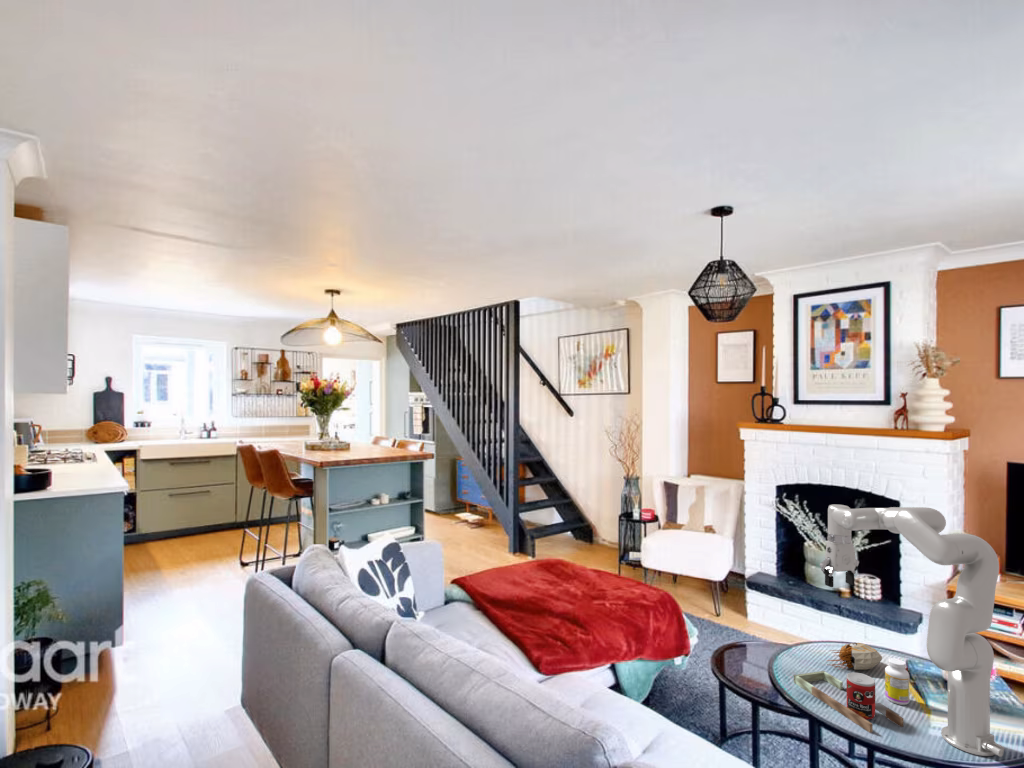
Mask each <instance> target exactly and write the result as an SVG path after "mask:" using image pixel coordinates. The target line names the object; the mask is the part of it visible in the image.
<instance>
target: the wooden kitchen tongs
mask: <svg viewBox="0 0 1024 768" xmlns="http://www.w3.org/2000/svg"><path fill="white" fill-rule="evenodd" d="M816 681H817V682H818V681H825V682H827V683H828V684H830V685H832V686H834V688H836V689H839V690H840V691H841V690H843V691H844V692H846V693H847V687H846V688H843V687H844V685H843V681H842V680H840V679H839V678H837V677H836V676H834V675H831V674H830V673H828V672H826V670H820V671H813V672H806V673H799V674H794V675H793V683H794V684H795V685H797V686H799V687H800V688H802V689H803V690H805V691H806V692H808V693H809V694H810V695H812V696H813V697H814V698H815V697H816V698H817V699H818V700H819V701H821V702H822V703H824V704H826V705H827V706H829V707H830V708H831V709H833V710H835V711H837V712H838V713H839V714H840V715H843V716H844V717H845V718H847V719H848V720H849V721H851V722H853V723H854V724H856V725H857V726H859V727H861V728H862V729H863V730H865V731H866V732H868V733H869V734H871V733H873V727H874V726H873V723H872V722H870V721H869V720H866V719H864V718H863V717H861V716H859V715H858V714H856V713H855V712H853V711H852V710H850V709H849V708H847V706H846V705H844V704H843V703H840V701H837V700H836V699H835V698H833V697H832V696H830V695H828V694H827V693H825V692H824V691H822V690H821V689H819V688H818V687H816V686H814V685H813V684H811V683H810V682H816ZM875 711H878V712H879V713H880V714H882V715H884V716H885V718H886V719H887V720H889V721H891V722H892V723H894V724H895V725H896V726H898V727H900V728H903V727H904V725H905V723H904V717H902V716H900V714H899V713H897V712H896V711H895V710H892V709H891V708H889V707H888V706H886V705H884V704H882V703H881V702H875Z"/></svg>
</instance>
